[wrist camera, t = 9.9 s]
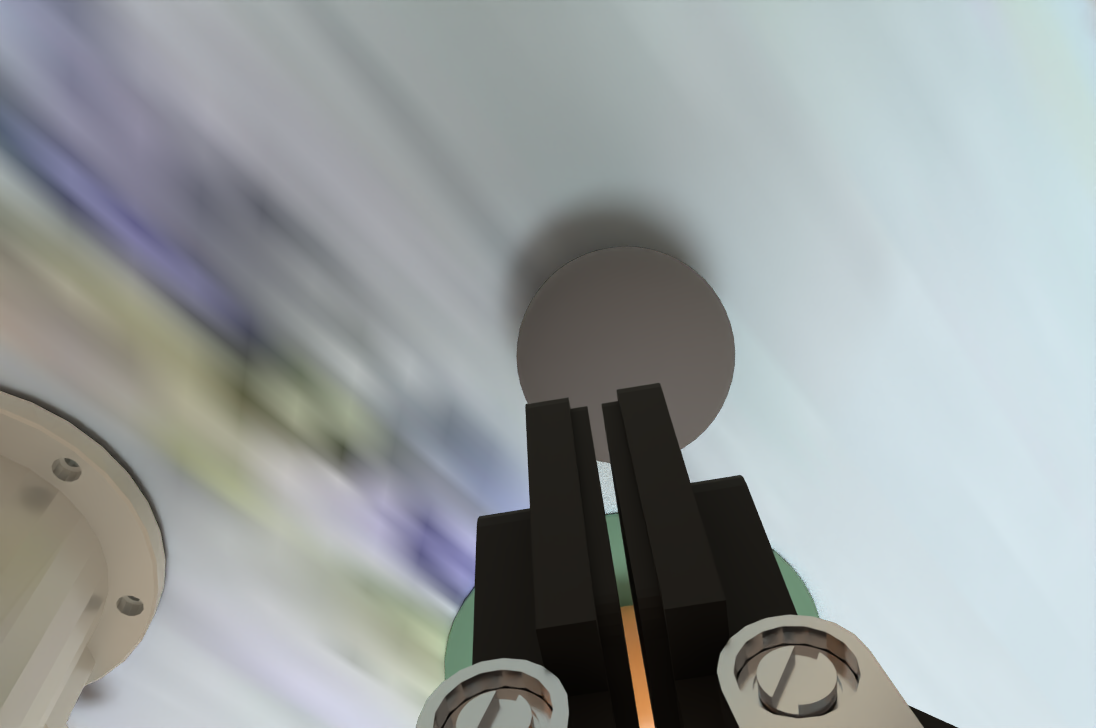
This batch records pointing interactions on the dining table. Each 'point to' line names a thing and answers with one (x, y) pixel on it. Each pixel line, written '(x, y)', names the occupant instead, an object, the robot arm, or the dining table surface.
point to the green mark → (463, 624)
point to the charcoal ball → (628, 338)
